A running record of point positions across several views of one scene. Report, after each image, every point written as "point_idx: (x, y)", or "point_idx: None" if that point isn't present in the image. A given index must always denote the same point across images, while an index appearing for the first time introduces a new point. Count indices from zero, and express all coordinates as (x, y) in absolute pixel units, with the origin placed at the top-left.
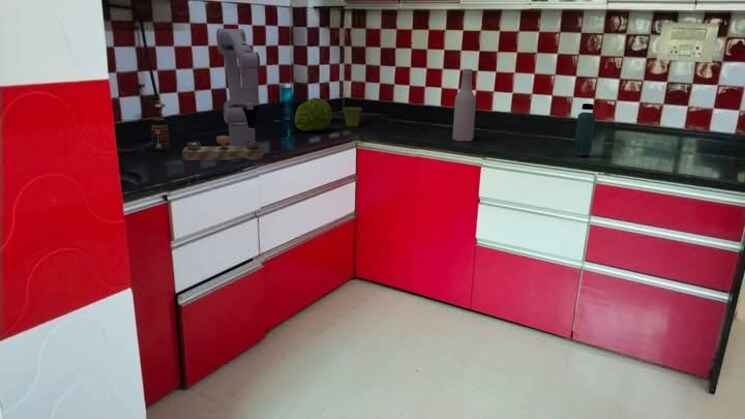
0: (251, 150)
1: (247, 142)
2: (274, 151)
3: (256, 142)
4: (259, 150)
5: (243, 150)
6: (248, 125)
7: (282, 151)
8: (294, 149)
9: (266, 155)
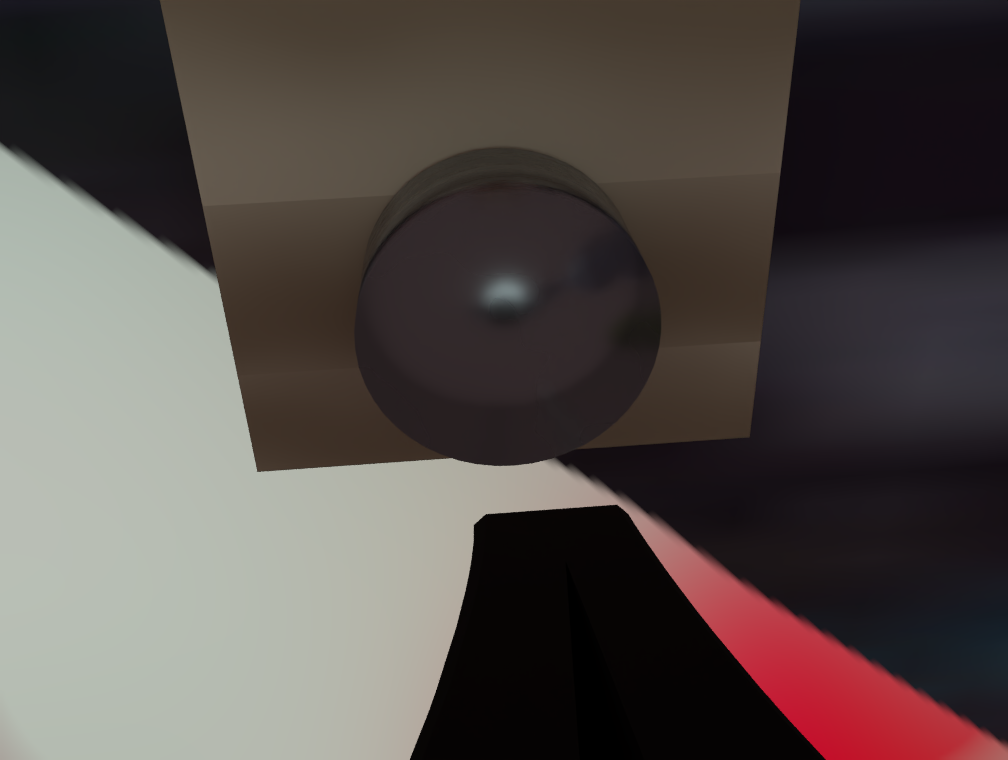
0: (275, 276)
1: (506, 227)
2: (902, 495)
3: (505, 424)
4: (291, 421)
5: (257, 102)
6: (473, 582)
7: (875, 589)
8: (976, 703)
9: None
